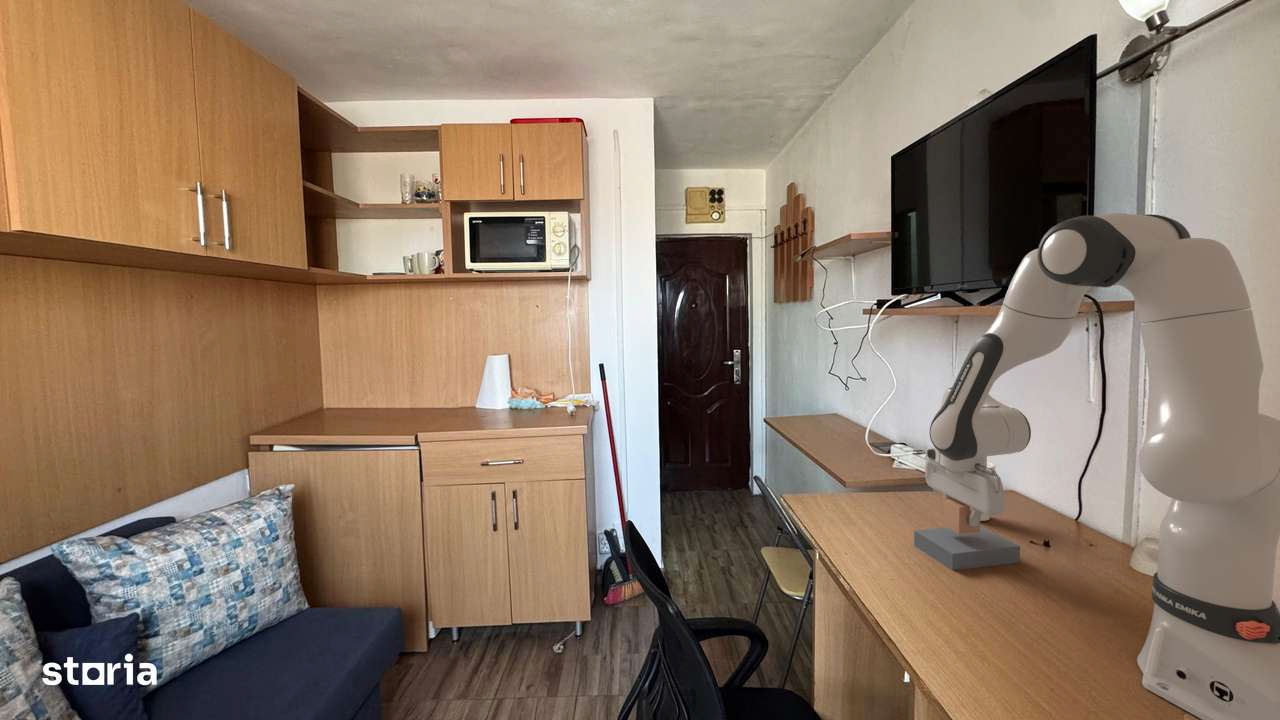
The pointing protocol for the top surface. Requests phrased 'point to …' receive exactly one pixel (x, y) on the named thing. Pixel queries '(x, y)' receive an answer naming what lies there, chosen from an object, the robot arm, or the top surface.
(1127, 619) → the top surface
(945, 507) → the block
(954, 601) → the top surface
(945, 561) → the grey flat slab
